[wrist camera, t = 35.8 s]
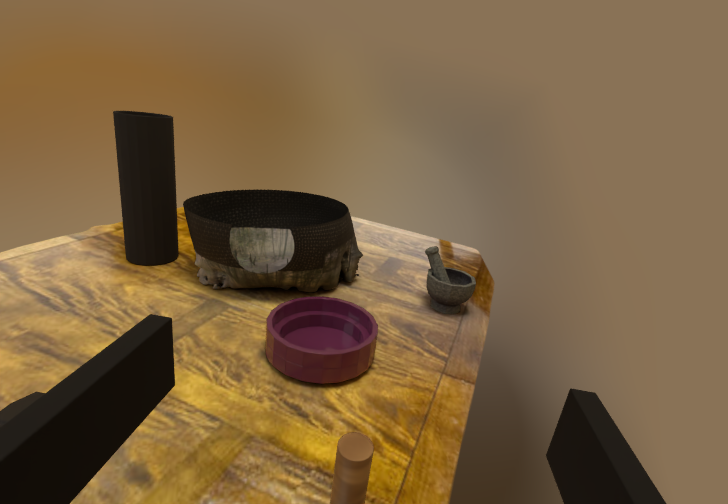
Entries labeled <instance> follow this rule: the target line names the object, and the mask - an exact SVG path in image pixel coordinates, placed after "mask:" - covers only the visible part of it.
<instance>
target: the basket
mask: <svg viewBox="0 0 728 504" xmlns="http://www.w3.org/2000/svg"><path fill="white" fill-rule="evenodd" d="M183 206H184V211H185V215H186V219H187V224H188V228H189V232H190V235H191V239H192V242H193V246H194V249H195V252H196V261H195V265H196V266H198V267H201V268H200V269H199V271H198V274H197V277H200V278H199V281H200V282H201V283H202V284H204V285H207V284H213V285H214V287H213V288H214V289H220V288H226V287H231V288H233V289H236V288H259V287H278V288H282V289H284V290H289V288H290V287H297V288H298V291H305V292H316V291H317V290H318V288H319V287H320V288H323V289H324V290H331V289H333V288H335V287H336V286H337V284H338V280H339V278H342V280H344V281H347V282H351V281H352V278H354V277H355V276H356V275H357V276H359V274H355V273H356V272H355V271H356V270H358V263H359V259H360V258H361V257H362V256H363V254H362V253H361V252H360V251H359V249H358V246H357V241H356V237H355V233H354V228H353V223H352V220H351V216H350V213H349V210H348V207H347V206H346V205H345V204H343V203H341V202H339V201H337V200H335V199H331V198H328V197H324V196H320V195H314V194H309V193H303V192H302V193H301V192H294V191H282V190H281V191H280V190H237V191H236V190H234V191H223V192H215V193H209V194H203V195H199V196H195V197H192V198H189V199H187V200H186V201H185V202H184V203H183ZM220 284H224V285H223V286H220Z"/></svg>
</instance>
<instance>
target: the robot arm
mask: <svg viewBox="0 0 728 504" xmlns="http://www.w3.org/2000/svg"><path fill="white" fill-rule="evenodd" d="M174 386H175V375H174V354H173V333H172V318H169V317H163V316H157V315H152V314H150V315H149V316H147V317H146V318H145V319H143V320H142V321H141V322H139V323H138V324H137V325H135V326H134V327H133V328H131V329H130V330H129V331H127V332H126V333H125V334H123V335H122V336H121V337H120V338H118V339H117V340H116V341H114V342H113V343H112V344H110V345H109V346H108V347H106V348H105V349H104V350H102V351H101V352H100V353H98V354H97V355H96V356H94V357H93V358H92V359H90V360H89V361H88V362H86V363H85V364H84V365H82V366H81V367H80V368H78V369H77V370H76V371H74V372H73V373H72V374H70V375H69V376H68V377H67V378H65V379H64V380H63V381H61V382H60V383H59V384H57V385H56V386H55V387H53V388H52V389H51V390H49V391H48V392H47V393H40V392H35V393H33V394H30V395H28V396H26V397H24V398H22V399H19V400H17V401H15V402H13V403H11V404H9V405H8V406H7V407H5V408H4V409H2V410H1V411H0V504H70V503H71V501H72V500H73V499H74V498H75V497H76V496H77V495H78V494H79V492H80V491H81V490H82V489H83V488H84V487H85V486H86V485H87V483H88V482H89V481H90V480H91V479H92V478H93V477H94V476H95V474H96V473H97V472H98V471H99V470H100V469H101V468H102V467H103V465H104V464H105V463H106V462H107V461H108V460H109V459H110V458H111V456H112V455H113V454H114V453H115V452H116V451H117V450H118V449H119V447H120V446H121V445H122V444H123V443H124V442H125V441H126V440H127V438H128V437H129V436H130V435H131V434H132V433H133V432H134V431H135V429H136V428H137V427H138V426H139V425H140V424H141V423H142V422H143V420H144V419H145V418H146V417H147V416H148V415H149V414H150V413H151V411H152V410H153V409H154V408H155V407H156V406H157V405H158V404H159V402H160V401H161V400H162V399H163V398H164V397H165V396H166V395H167V393H168V392H169V391H170V390H171V389H172V388H173V387H174ZM546 456H547V460H548V462H549V465H550V467H551V470H552V473H553V475H554V478H555V481H556V483H557V486H558V489H559V491H560V494H561V497H562V499H563V502H564V504H666V503H665V501H664V499H663V498H662V496H661V495H660V493H659V492H658V490H657V488H656V487H655V485H654V484H653V482H652V481H651V479H650V478H649V476H648V474H647V473H646V471H645V470H644V468H643V467H642V465H641V463H640V462H639V460H638V459H637V458H636V456H635V454H634V452H633V451H632V450H631V448H630V446H629V445H628V443H627V442H626V440H625V438H624V437H623V435H622V434H621V432H620V431H619V429H618V427H617V426H616V424H615V423H614V421H613V420H612V418H611V416H610V415H609V413H608V412H607V410H606V409H605V407H604V406H603V404H602V402H601V401H600V399H599V398H598V396H597V395H596V393H593V392H587V391H582V390H576V389H570V391H569V393H568V396H567V399H566V402H565V405H564V407H563V410H562V413H561V415H560V418H559V421H558V424H557V427H556V429H555V432H554V435H553V438H552V441H551V443H550V446H549V449H548V451H547V454H546Z"/></svg>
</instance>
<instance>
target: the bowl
mask: <svg viewBox="0 0 728 504" xmlns="http://www.w3.org/2000/svg"><path fill="white" fill-rule="evenodd" d="M377 334H378V324H377V323H376V321H375V319H374V317H373V316H372V315H371V314H370V313H369V312H367V311H366V310H365V309H364V308H362V307H360V306H358V305H356V304H354V303H351V302H348V301H345V300H341V299H337V298H329V297H303V298H297V299H292V300H290V301H287V302H284V303H282V304H280V305H278V306H277V307H276V308H274V309H273V310H272V311H271V312H270V314H269V316H268V318H267V322H266V344H265V346H266V356H267V358H268V359H269V361H270V363H271V364H272V366H273V367H275V368H276V369H278V370H279V371H280V372H282V373H283V374H284V375H287V376H290V377H293V378H295V379H298V380H301V381H305V382H313V383H320V384H322V383H337V382H342V381H345V380H348V379H352V378H355V377H357V376H358V375H360V374H361V373H363V372H364V371H366V370H367V369H368V368H369V366H370V365H371V363H372V362H373V360H374V353H375V347H376V340H377Z"/></svg>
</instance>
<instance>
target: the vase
mask: <svg viewBox="0 0 728 504" xmlns="http://www.w3.org/2000/svg"><path fill="white" fill-rule="evenodd" d="M113 114H114V126H115V138H116V149H117V160H118V172H119V182H120V195H121V205H122V217H123V229H124V240H125V251H126V259H127V260H128V261H129V262H131V263H133V264H137V265H146V266H147V265H160V264H166V263H169V262H172V261H173V260H175V259H177V257H178V230H177V207H176V206H177V205H176V181H175V157H174V133H173V132H174V131H173V117H172V116H168V115H162V114H154V113H146V112H132V111H114V112H113Z"/></svg>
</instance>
